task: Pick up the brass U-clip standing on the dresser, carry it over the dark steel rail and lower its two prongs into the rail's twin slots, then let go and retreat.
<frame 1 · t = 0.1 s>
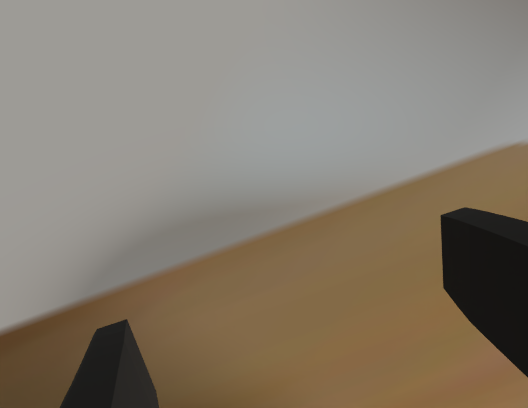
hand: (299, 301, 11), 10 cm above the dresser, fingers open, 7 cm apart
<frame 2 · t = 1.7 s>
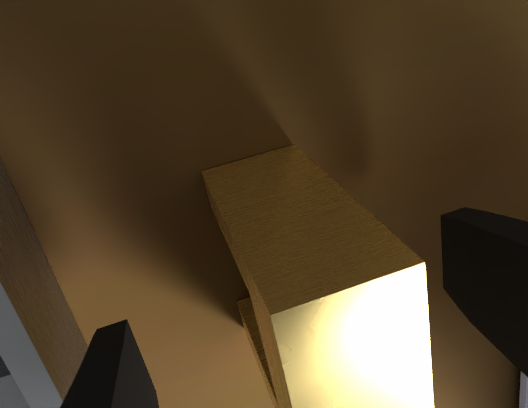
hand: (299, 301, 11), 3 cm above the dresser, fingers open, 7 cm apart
clip: (267, 242, 14), on the dresser
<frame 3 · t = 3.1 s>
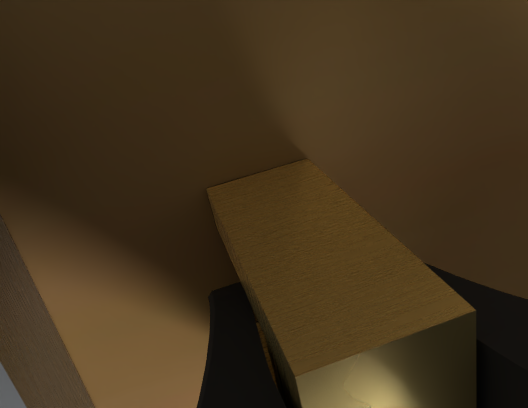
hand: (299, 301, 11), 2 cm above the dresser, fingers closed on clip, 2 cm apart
clip: (277, 264, 12), on the dresser, touching gripper
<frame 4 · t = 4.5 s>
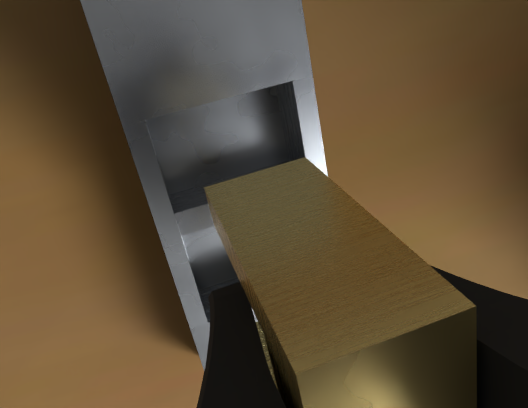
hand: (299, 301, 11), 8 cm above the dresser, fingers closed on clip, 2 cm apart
clip: (275, 263, 12), point 6 cm above the dresser, touching gripper
rail: (226, 177, 18), on the dresser
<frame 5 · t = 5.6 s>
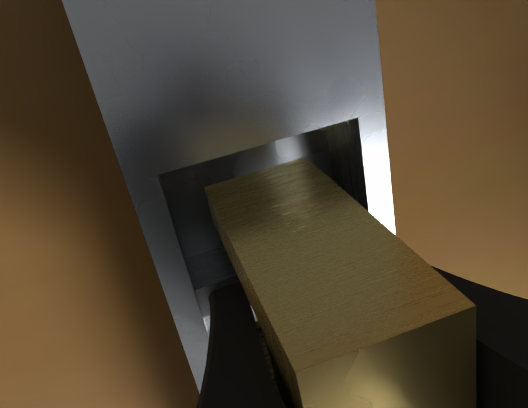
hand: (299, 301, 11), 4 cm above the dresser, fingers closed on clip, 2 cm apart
clip: (275, 263, 12), point 2 cm above the dresser, touching gripper
rail: (256, 229, 14), on the dresser
when the fingers open (4 cm above the dresser, at t = 6.1 s): clip stays where it is, resting on rail.
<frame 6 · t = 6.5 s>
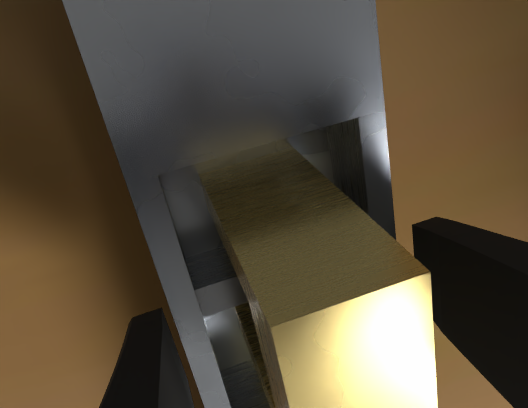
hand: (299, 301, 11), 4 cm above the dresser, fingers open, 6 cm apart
clip: (265, 247, 13), point 1 cm above the dresser, touching rail
rail: (256, 229, 14), on the dresser
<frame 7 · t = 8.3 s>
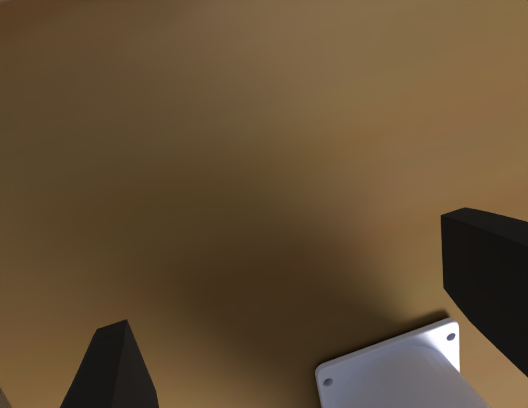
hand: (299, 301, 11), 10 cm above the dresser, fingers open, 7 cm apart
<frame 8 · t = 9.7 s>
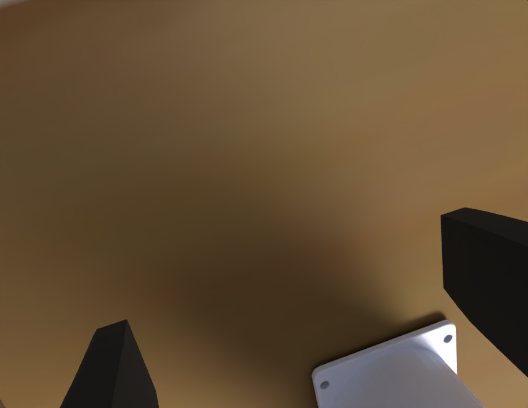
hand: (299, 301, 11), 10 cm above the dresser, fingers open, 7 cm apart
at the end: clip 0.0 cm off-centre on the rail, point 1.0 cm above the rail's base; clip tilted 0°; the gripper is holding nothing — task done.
